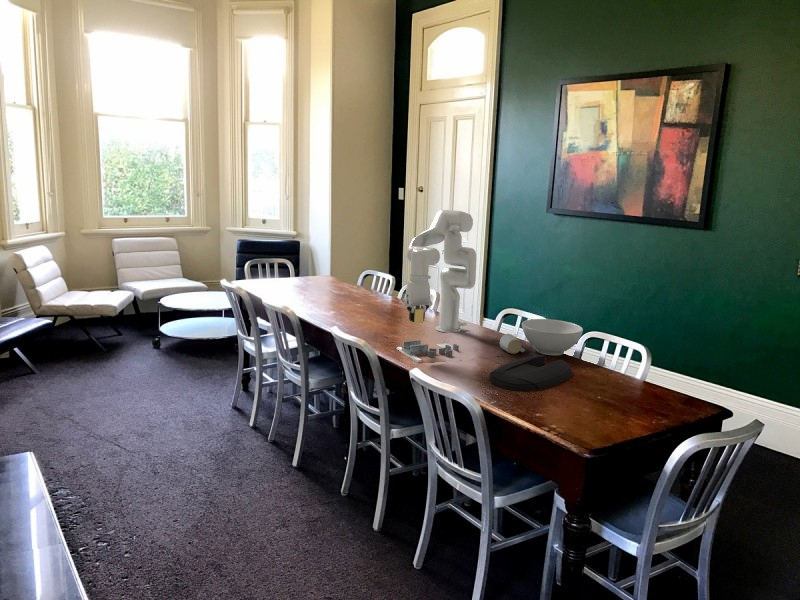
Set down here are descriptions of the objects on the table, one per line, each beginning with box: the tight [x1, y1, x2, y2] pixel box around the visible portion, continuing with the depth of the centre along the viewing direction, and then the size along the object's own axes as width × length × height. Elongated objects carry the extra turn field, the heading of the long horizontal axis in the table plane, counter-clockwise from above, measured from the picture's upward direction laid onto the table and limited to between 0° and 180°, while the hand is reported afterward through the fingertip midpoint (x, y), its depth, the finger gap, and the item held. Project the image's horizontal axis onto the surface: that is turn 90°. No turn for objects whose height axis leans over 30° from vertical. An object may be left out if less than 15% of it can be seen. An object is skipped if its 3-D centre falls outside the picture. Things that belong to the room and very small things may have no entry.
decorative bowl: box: [521, 318, 584, 356], centre depth 277 cm, size 27×27×12 cm
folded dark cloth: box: [488, 355, 573, 392], centre depth 242 cm, size 25×40×5 cm, turn 139°
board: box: [396, 343, 460, 364], centre depth 267 cm, size 25×20×4 cm
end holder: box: [401, 339, 429, 356], centre depth 264 cm, size 8×8×4 cm
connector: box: [412, 306, 424, 325], centre depth 261 cm, size 4×4×8 cm
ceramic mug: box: [499, 333, 526, 355], centre depth 274 cm, size 11×8×8 cm
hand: (416, 320), depth 261 cm, fingers closed on connector, 4 cm apart
